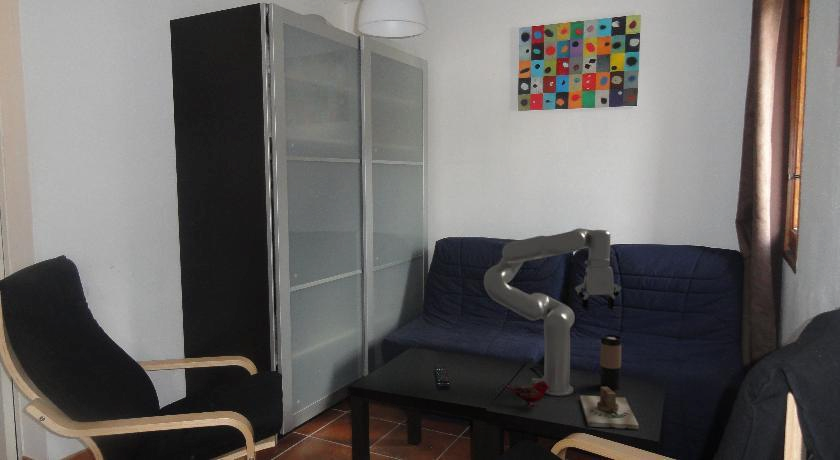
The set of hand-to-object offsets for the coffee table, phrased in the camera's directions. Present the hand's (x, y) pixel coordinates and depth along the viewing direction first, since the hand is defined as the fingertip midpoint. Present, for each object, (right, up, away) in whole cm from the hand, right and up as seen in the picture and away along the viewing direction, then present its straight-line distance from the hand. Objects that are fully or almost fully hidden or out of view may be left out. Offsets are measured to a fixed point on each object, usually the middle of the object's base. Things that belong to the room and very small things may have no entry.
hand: (597, 309), depth 220 cm
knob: (0, -33, -15) cm, 36 cm away
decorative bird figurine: (-28, -34, -6) cm, 44 cm away
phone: (-13, -31, +29) cm, 45 cm away
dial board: (-1, -35, -13) cm, 37 cm away
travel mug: (+9, -32, +13) cm, 36 cm away
